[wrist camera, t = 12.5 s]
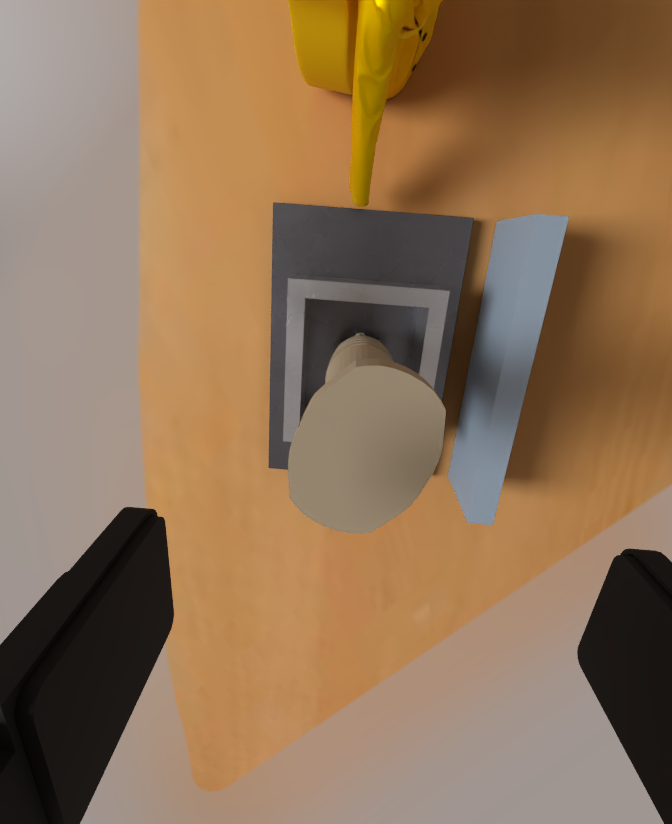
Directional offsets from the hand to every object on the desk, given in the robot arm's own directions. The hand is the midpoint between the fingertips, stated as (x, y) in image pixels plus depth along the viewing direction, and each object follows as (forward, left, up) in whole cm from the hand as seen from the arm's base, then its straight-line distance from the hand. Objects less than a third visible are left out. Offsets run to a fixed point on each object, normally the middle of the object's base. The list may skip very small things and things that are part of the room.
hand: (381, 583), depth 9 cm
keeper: (0, 0, -22) cm, 22 cm away
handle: (0, 0, -21) cm, 21 cm away
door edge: (0, +8, -22) cm, 24 cm away
